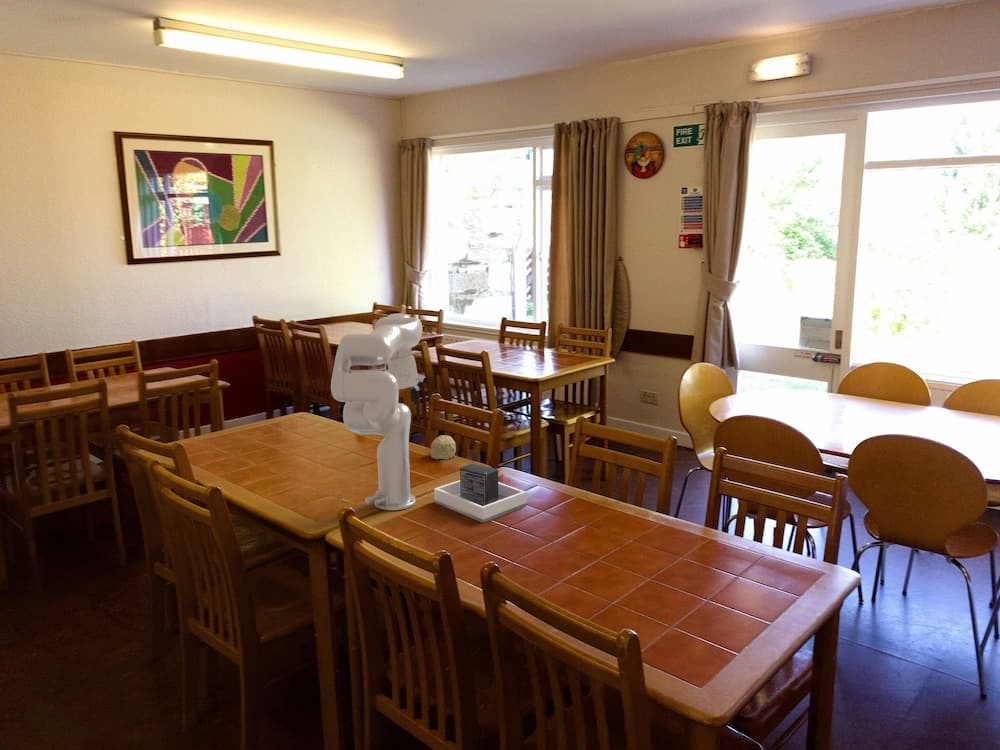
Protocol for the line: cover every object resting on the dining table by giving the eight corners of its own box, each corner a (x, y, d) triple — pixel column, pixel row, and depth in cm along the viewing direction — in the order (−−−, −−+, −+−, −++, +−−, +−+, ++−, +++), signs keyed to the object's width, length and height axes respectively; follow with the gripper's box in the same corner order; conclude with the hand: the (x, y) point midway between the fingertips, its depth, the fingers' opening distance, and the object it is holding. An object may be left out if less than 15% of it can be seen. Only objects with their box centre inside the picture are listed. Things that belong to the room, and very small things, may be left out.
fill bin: (482, 522, 204) (482, 508, 203) (434, 502, 220) (433, 488, 219) (526, 505, 216) (526, 491, 215) (477, 487, 232) (477, 474, 231)
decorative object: (437, 470, 259) (450, 450, 255) (420, 451, 263) (433, 431, 259) (453, 465, 267) (466, 446, 263) (436, 447, 271) (448, 428, 267)
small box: (499, 501, 217) (499, 468, 215) (486, 508, 212) (486, 474, 210) (472, 494, 223) (472, 462, 221) (459, 500, 218) (458, 467, 216)
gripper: (381, 358, 219) (384, 412, 223) (428, 351, 229) (430, 402, 233) (369, 354, 224) (372, 407, 228) (416, 347, 235) (417, 397, 239)
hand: (401, 404), depth 231 cm, fingers open, 9 cm apart
